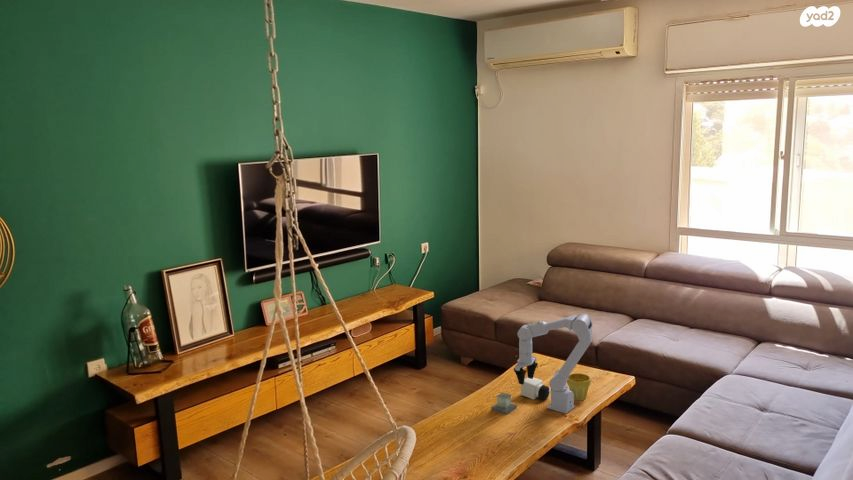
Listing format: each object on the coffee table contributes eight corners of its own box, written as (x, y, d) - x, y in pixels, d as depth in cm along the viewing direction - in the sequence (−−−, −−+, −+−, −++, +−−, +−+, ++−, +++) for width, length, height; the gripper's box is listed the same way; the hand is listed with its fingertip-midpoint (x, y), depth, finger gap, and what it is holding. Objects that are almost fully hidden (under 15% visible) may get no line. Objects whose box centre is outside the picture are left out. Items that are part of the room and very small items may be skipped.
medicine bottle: (520, 394, 300) (543, 403, 292) (521, 380, 298) (544, 389, 291) (528, 389, 305) (551, 398, 298) (529, 375, 303) (552, 383, 296)
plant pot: (595, 399, 293) (595, 379, 291) (575, 404, 289) (575, 383, 287) (581, 391, 302) (581, 371, 300) (562, 395, 298) (562, 375, 297)
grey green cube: (511, 405, 288) (511, 394, 287) (506, 409, 284) (506, 398, 283) (502, 403, 290) (501, 392, 290) (497, 406, 287) (496, 396, 286)
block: (516, 409, 288) (516, 405, 288) (506, 416, 282) (506, 411, 282) (501, 404, 293) (501, 400, 293) (491, 411, 288) (491, 406, 287)
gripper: (526, 345, 296) (527, 373, 299) (508, 354, 286) (509, 384, 288) (540, 348, 292) (540, 377, 294) (522, 358, 281) (522, 388, 284)
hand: (525, 381), depth 291 cm, fingers open, 7 cm apart
